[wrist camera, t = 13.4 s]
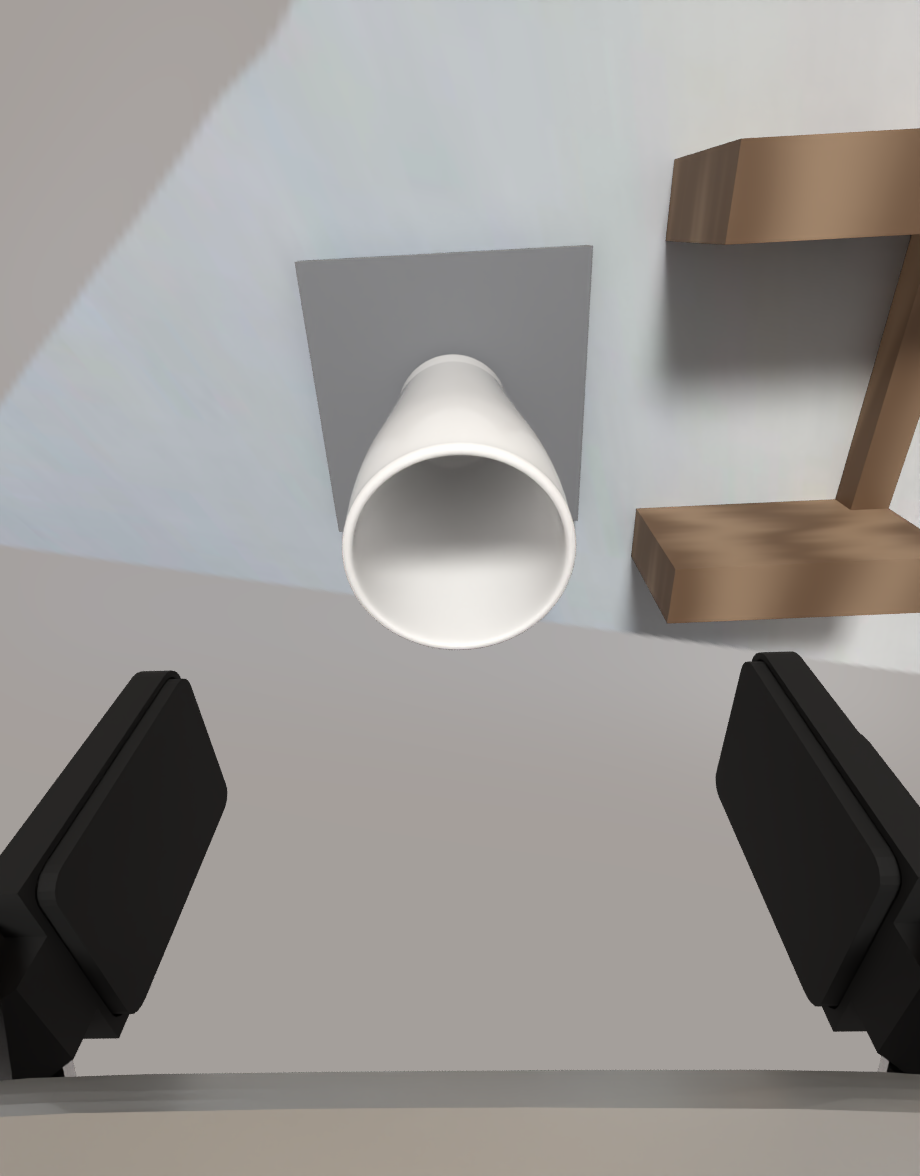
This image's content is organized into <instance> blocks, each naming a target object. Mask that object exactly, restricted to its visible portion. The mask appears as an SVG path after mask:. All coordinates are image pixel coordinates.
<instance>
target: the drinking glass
mask: <svg viewBox="0 0 920 1176" xmlns="http://www.w3.org/2000/svg"><path fill="white" fill-rule="evenodd" d="M575 556H576V534H575V528H574V523H573V519H572V516H571V513H570V510H569V506H568V503H567V499H566V496H565V493H564V489H563V487H562V484H561V481H560V479H559V476H558V474H557V471H556V469H555V467H554V464H553V462H552V460H551V458H550V456H549V454H548V453H547V451H546V449H545V447H544V445H543V444H542V442H541V441H540V439H539V438H538V436H537V435H536V433H535V432H534V430H533V429H532V428H531V426H530V425H529V423H528V422H527V421H526V419H525V418H524V417H523V415H522V414H521V413H520V412H519V410H518V409H517V408H516V406H515V405H514V403H513V402H512V401H511V399H510V398H509V397H508V395H507V394H506V391H505V389H504V386H503V384H502V383H501V381H500V379H499V378H498V377H497V375H496V374H495V373H494V372H493V371H492V370H491V369H490V368H489V367H488V366H486V365H485V364H484V363H482V362H480V361H479V360H476V359H474V358H472V357H469V356H465V355H459V354H447V355H441V356H438V357H434V358H432V359H430V360H428V361H426V362H424V363H423V364H421V365H420V366H418V367H417V368H416V369H415V370H414V371H413V372H412V373H411V374H410V376H409V377H408V378H407V380H406V381H405V383H404V385H403V387H402V389H401V392H400V395H399V398H398V400H397V402H396V403H395V405H394V407H393V408H392V410H391V412H390V413H389V415H388V417H387V418H386V420H385V421H384V423H383V425H382V426H381V428H380V429H379V431H378V433H377V434H376V436H375V438H374V439H373V441H372V443H371V445H370V447H369V449H368V451H367V453H366V455H365V457H364V459H363V461H362V464H361V466H360V469H359V471H358V474H357V477H356V480H355V483H354V486H353V490H352V494H351V497H350V501H349V506H348V511H347V516H346V522H345V526H344V531H343V537H342V557H343V563H344V569H345V572H346V576H347V579H348V581H349V584H350V586H351V588H352V590H353V592H354V594H355V596H356V597H357V598H358V600H359V602H360V603H361V605H362V606H363V607H364V608H365V609H366V611H367V612H368V613H369V614H370V615H371V616H372V617H373V618H374V619H376V621H378V622H379V623H380V624H382V625H383V626H384V627H385V628H387V629H388V630H390V631H391V632H393V633H395V634H397V635H398V636H400V637H403V638H405V639H407V640H409V641H412V642H415V643H418V644H421V645H425V646H428V647H433V648H439V649H448V650H466V649H476V648H483V647H487V646H492V645H495V644H498V643H501V642H504V641H507V640H509V639H511V638H513V637H515V636H517V635H519V634H521V633H523V632H525V631H526V630H528V629H529V628H530V627H532V626H533V625H535V624H536V623H537V622H539V621H540V620H541V619H542V618H543V617H544V616H545V615H546V614H547V613H548V612H549V611H550V610H551V609H552V608H553V607H554V605H555V604H556V603H557V602H558V600H559V598H560V597H561V595H562V594H563V592H564V590H565V588H566V586H567V584H568V582H569V579H570V577H571V574H572V571H573V567H574V562H575Z"/></svg>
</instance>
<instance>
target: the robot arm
mask: <svg viewBox="0 0 920 1176" xmlns="http://www.w3.org/2000/svg"><path fill="white" fill-rule="evenodd" d="M716 788H717V792H718V795H719V798H720V800H721V803H722V805H723V807H724V809H725V812H726V814H727V816H728V818H729V821H730V823H731V825H732V828H733V830H734V832H735V834H736V837H737V839H738V841H739V844H740V846H741V848H742V850H743V853H744V855H745V857H746V860H747V862H748V864H749V866H750V869H751V871H752V873H753V875H754V878H755V880H756V882H757V885H758V887H759V889H760V892H761V894H762V896H763V898H764V901H765V903H766V905H767V908H768V910H769V912H770V914H771V916H772V919H773V921H774V923H775V926H776V928H777V930H778V933H779V935H780V937H781V939H782V941H783V944H784V946H785V948H786V951H787V953H788V955H789V958H790V960H791V962H792V964H793V966H794V969H795V971H796V974H797V976H798V978H799V980H800V983H801V985H802V987H803V990H804V991H805V993H806V995H807V997H808V999H809V1000H810V1002H811V1003H812V1004H813V1005H815V1006H822V1008H823V1010H824V1012H825V1014H826V1016H827V1019H828V1021H829V1023H830V1025H831V1027H832V1030H833V1031H835V1032H837V1031H867V1033H868V1035H869V1037H870V1039H871V1040H872V1043H873V1045H874V1047H875V1049H876V1051H877V1053H878V1054H880V1055H881V1060H880V1064H879V1068H878V1072H851V1071H849V1072H847V1071H846V1072H845V1071H790V1070H540V1071H538V1070H536V1071H535V1070H532V1071H531V1070H529V1071H395V1072H394V1071H393V1072H392V1071H391V1072H298V1073H297V1072H294V1073H293V1072H292V1073H214V1074H143V1075H112V1076H82V1077H76V1072H75V1068H74V1063H73V1059H74V1056H75V1054H76V1052H77V1050H78V1048H79V1046H80V1044H81V1042H82V1040H83V1039H91V1038H92V1039H95V1038H96V1039H98V1038H119V1037H120V1034H121V1032H122V1030H123V1027H124V1025H125V1022H126V1020H127V1018H128V1016H129V1014H134V1013H135V1012H137V1011H138V1010H139V1008H140V1007H141V1006H142V1004H143V1002H144V1000H145V998H146V995H147V993H148V991H149V988H150V986H151V983H152V981H153V979H154V976H155V974H156V971H157V969H158V967H159V964H160V962H161V960H162V957H163V955H164V952H165V950H166V947H167V945H168V943H169V940H170V938H171V936H172V933H173V931H174V928H175V926H176V924H177V921H178V919H179V916H180V914H181V912H182V909H183V907H184V904H185V902H186V900H187V897H188V895H189V892H190V890H191V888H192V885H193V883H194V880H195V878H196V876H197V873H198V871H199V869H200V866H201V864H202V861H203V859H204V857H205V854H206V852H207V849H208V847H209V845H210V842H211V840H212V837H213V835H214V833H215V830H216V828H217V825H218V823H219V821H220V818H221V816H222V813H223V811H224V808H225V805H226V801H227V787H226V783H225V780H224V778H223V775H222V772H221V769H220V766H219V764H218V761H217V758H216V755H215V752H214V749H213V747H212V744H211V741H210V738H209V736H208V733H207V730H206V727H205V724H204V721H203V719H202V716H201V713H200V710H199V707H198V704H197V702H196V699H195V696H194V693H193V690H192V688H191V685H190V683H189V681H188V680H186V679H181V678H180V676H179V674H178V673H177V672H175V671H143V672H139V673H136V674H135V675H134V676H133V677H132V679H131V680H130V681H129V683H128V684H127V685H126V687H125V688H124V689H123V691H122V692H121V694H120V695H119V696H118V697H117V699H116V700H115V702H114V703H113V704H112V706H111V707H110V708H109V710H108V711H107V712H106V714H105V715H104V716H103V718H102V719H101V721H100V722H99V723H98V724H97V726H96V727H95V728H94V730H93V731H92V732H91V734H90V735H89V737H88V738H87V739H86V741H85V742H84V743H83V745H82V746H81V747H80V749H79V750H78V751H77V753H76V754H75V755H74V757H73V758H72V759H71V761H70V762H69V764H68V765H67V766H66V768H65V769H64V770H63V772H62V773H61V774H60V776H59V777H58V778H57V780H56V781H55V782H54V784H53V785H52V786H51V788H50V789H49V790H48V792H47V793H46V794H45V796H44V797H43V799H42V800H41V802H40V803H39V804H38V805H37V807H36V808H35V809H34V811H33V812H32V814H31V815H30V816H29V818H28V819H27V820H26V822H25V823H24V824H23V826H22V827H21V828H20V829H19V831H18V832H17V834H16V835H15V836H14V838H13V839H12V840H11V842H10V843H9V844H8V846H7V847H6V849H5V850H4V851H3V852H2V854H1V855H0V1176H920V807H919V805H918V804H917V803H916V802H915V800H914V799H913V798H912V796H911V795H910V794H909V792H908V791H907V790H906V789H905V787H904V786H903V785H902V783H901V782H900V781H899V780H898V778H897V777H896V776H895V774H894V773H893V772H892V771H891V769H890V768H889V767H888V765H887V764H886V763H885V762H884V760H883V759H882V758H881V756H880V755H879V754H878V752H877V751H876V750H875V749H874V747H873V746H872V745H871V743H870V742H869V741H868V740H867V739H866V738H865V737H864V736H863V735H861V734H860V733H859V732H858V731H857V729H856V728H855V727H854V726H853V724H852V723H851V722H850V720H849V719H848V718H847V716H846V715H845V714H844V713H843V711H842V710H841V709H840V707H839V706H838V705H837V703H836V702H835V701H834V699H833V698H832V697H831V696H830V694H829V693H828V692H827V691H826V689H825V688H824V686H823V685H822V684H821V683H820V681H819V680H818V679H817V677H816V676H815V675H814V673H813V672H812V671H811V670H810V668H809V667H808V666H807V665H806V663H805V662H804V660H803V659H802V658H801V657H800V656H799V655H798V654H797V653H795V652H762V653H757V654H756V655H755V656H754V657H753V659H752V662H745V663H744V664H743V666H742V669H741V673H740V677H739V681H738V685H737V689H736V693H735V697H734V702H733V706H732V710H731V714H730V718H729V722H728V726H727V731H726V735H725V739H724V743H723V747H722V751H721V756H720V760H719V764H718V768H717V773H716Z"/></svg>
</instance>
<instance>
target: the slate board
mask: <svg viewBox="0 0 920 1176" xmlns="http://www.w3.org/2000/svg"><path fill="white" fill-rule="evenodd" d="M592 255H593V246H590V245H582V246H564V247H545V248H527V249H509V250H490V251H472V252H454V253H436V254H417V255H399V256H381V257H362V258H344V259H326V260H307V261H298V262H295V267H296V273H297V279H298V286H299V292H300V298H301V304H302V310H303V316H304V322H305V328H306V334H307V340H308V346H309V352H310V358H311V364H312V370H313V376H314V383H315V389H316V395H317V401H318V407H319V413H320V419H321V425H322V431H323V437H324V443H325V449H326V455H327V461H328V467H329V474H330V480H331V486H332V492H333V498H334V504H335V510H336V516H337V522H338V528H339V532H343V531H344V526H345V522H346V516H347V511H348V506H349V501H350V497H351V494H352V490H353V486H354V483H355V480H356V477H357V474H358V471H359V469H360V466H361V464H362V461H363V459H364V457H365V455H366V453H367V451H368V449H369V447H370V445H371V443H372V441H373V439H374V438H375V436H376V434H377V433H378V431H379V429H380V428H381V426H382V425H383V423H384V421H385V420H386V418H387V417H388V415H389V413H390V412H391V410H392V408H393V407H394V405H395V403H396V402H397V400H398V398H399V395H400V392H401V389H402V387H403V385H404V383H405V381H406V380H407V378H408V377H409V376H410V374H411V373H412V372H413V371H414V370H415V369H416V368H417V367H418V366H420V365H421V364H423V363H424V362H426V361H428V360H430V359H432V358H434V357H438V356H441V355H447V354H459V355H465V356H469V357H472V358H474V359H476V360H479V361H480V362H482V363H484V364H485V365H486V366H488V367H489V368H490V369H491V370H492V371H493V372H494V373H495V374H496V375H497V377H498V378H499V379H500V381H501V383H502V384H503V386H504V389H505V391H506V394H507V395H508V397H509V398H510V399H511V401H512V402H513V403H514V405H515V406H516V408H517V409H518V410H519V412H520V413H521V414H522V415H523V417H524V418H525V419H526V421H527V422H528V423H529V425H530V426H531V428H532V429H533V430H534V432H535V433H536V435H537V436H538V438H539V439H540V441H541V442H542V444H543V445H544V447H545V449H546V451H547V453H548V454H549V456H550V458H551V460H552V462H553V464H554V467H555V469H556V471H557V474H558V476H559V479H560V481H561V484H562V487H563V489H564V493H565V496H566V499H567V503H568V506H569V510H570V513H571V516H572V519H573V521H578V505H579V487H580V469H581V451H582V433H583V416H584V398H585V380H586V362H587V344H588V327H589V309H590V291H591V273H592Z"/></svg>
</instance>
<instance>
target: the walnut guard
mask: <svg viewBox="0 0 920 1176" xmlns="http://www.w3.org/2000/svg"><path fill="white" fill-rule="evenodd" d="M894 235H911V239H910V242H909V245H908V249H907V252H906V256H905V259H904V263H903V266H902V270H901V273H900V277H899V280H898V284H897V287H896V291H895V294H894V298H893V301H892V305H891V308H890V312H889V315H888V318H887V322H886V325H885V329H884V332H883V336H882V339H881V343H880V346H879V350H878V353H877V357H876V360H875V364H874V367H873V371H872V374H871V378H870V381H869V385H868V388H867V391H866V395H865V398H864V402H863V405H862V409H861V412H860V416H859V419H858V423H857V426H856V430H855V433H854V437H853V440H852V444H851V447H850V451H849V454H848V458H847V461H846V464H845V468H844V471H843V475H842V478H841V482H840V485H839V489H838V492H837V496H836V499H833V500H812V501H790V502H769V503H747V504H726V505H704V506H682V507H661V508H639V509H636V518H635V527H634V536H633V545H632V554H631V557H632V558H633V560H634V562H635V564H636V566H637V568H638V570H639V572H640V573H641V575H642V577H643V579H644V581H645V583H646V585H647V587H648V588H649V590H650V592H651V594H652V596H653V598H654V600H655V601H656V603H657V605H658V607H659V609H660V611H661V613H662V615H663V616H664V618H665V620H666V622H667V623H689V622H712V621H736V620H759V619H783V618H806V617H829V616H853V615H876V614H900V613H920V529H919V528H918V527H916V526H915V525H913V524H912V523H910V522H909V521H907V520H905V519H904V518H902V517H901V516H899V515H898V514H896V513H895V512H893V511H892V510H890V509H889V505H890V503H891V500H892V497H893V494H894V491H895V488H896V485H897V482H898V479H899V476H900V473H901V470H902V467H903V464H904V461H905V458H906V455H907V452H908V449H909V446H910V443H911V440H912V437H913V435H914V432H915V429H916V426H917V423H918V420H919V417H920V128H918V129H901V130H884V131H866V132H849V133H832V134H814V135H797V136H780V137H762V138H745V139H739V140H736V141H732V142H729V143H726V144H723V145H720V146H716V147H713V148H710V149H707V150H703V151H700V152H697V153H694V154H691V155H687V156H684V157H681V158H678V159H675V160H674V169H673V178H672V187H671V197H670V206H669V215H668V224H667V233H666V241H675V242H691V243H707V244H722V245H729V244H747V243H765V242H784V241H802V240H820V239H839V238H857V237H876V236H894Z"/></svg>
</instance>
